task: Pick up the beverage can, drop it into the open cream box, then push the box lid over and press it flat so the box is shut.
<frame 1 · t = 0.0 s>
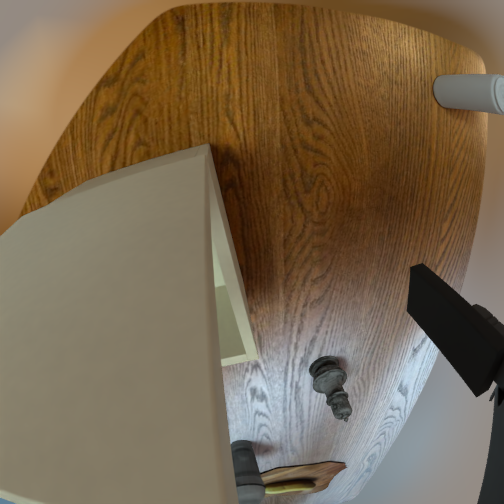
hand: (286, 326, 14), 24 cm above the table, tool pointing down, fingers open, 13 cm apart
beverage cup: (241, 444, 57), on the table
cream box: (166, 233, 36), on the table
cutting board: (285, 482, 70), on the table
beverage can: (442, 91, 32), on the table
chess piece: (323, 366, 49), on the table
box lid: (40, 263, 11), point 24 cm above the table, hinge at 85.0°
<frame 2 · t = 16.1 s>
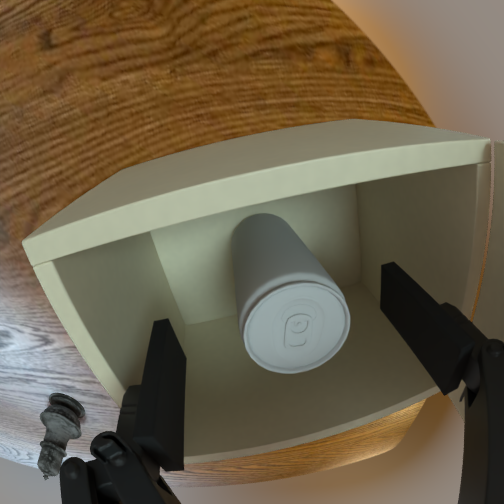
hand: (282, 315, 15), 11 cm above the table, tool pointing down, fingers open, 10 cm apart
cream box: (259, 231, 24), on the table
beverage can: (262, 241, 24), point 1 cm above the table, touching cream box
chess piece: (67, 404, 31), on the table
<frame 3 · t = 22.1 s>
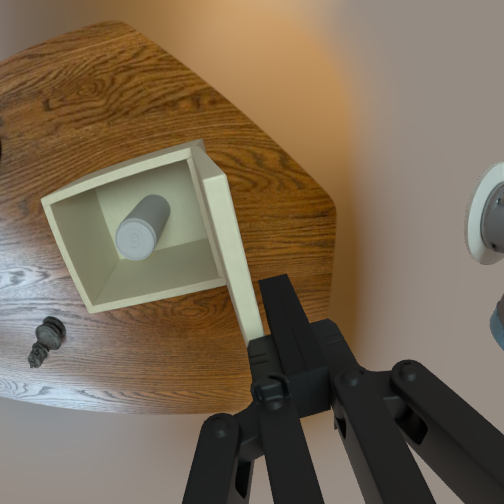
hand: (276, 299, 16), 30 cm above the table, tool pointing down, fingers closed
cream box: (155, 204, 43), on the table
beverage can: (155, 209, 42), point 1 cm above the table, touching cream box
chess piece: (54, 326, 50), on the table
box lid: (226, 261, 21), point 24 cm above the table, hinge at 96.7°, touching gripper
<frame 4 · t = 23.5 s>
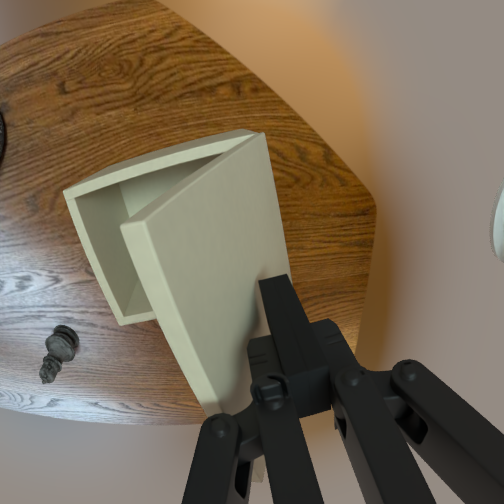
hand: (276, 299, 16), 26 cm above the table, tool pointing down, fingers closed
cream box: (187, 200, 39), on the table
chess piece: (66, 336, 46), on the table
box lid: (258, 278, 18), point 24 cm above the table, hinge at 72.3°, touching gripper
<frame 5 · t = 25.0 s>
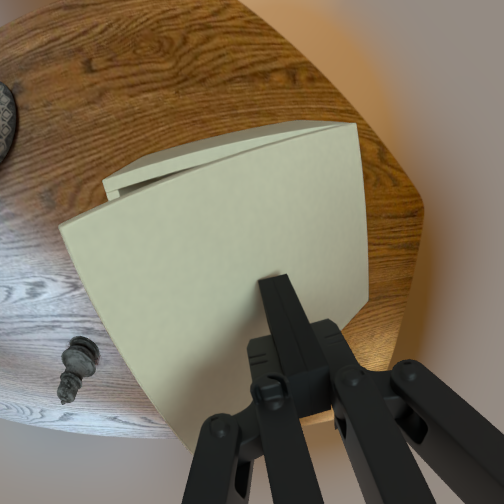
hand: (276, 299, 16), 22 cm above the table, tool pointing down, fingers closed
cream box: (234, 197, 36), on the table
chess piece: (84, 348, 42), on the table
box lid: (281, 281, 17), point 20 cm above the table, hinge at 35.9°, touching gripper
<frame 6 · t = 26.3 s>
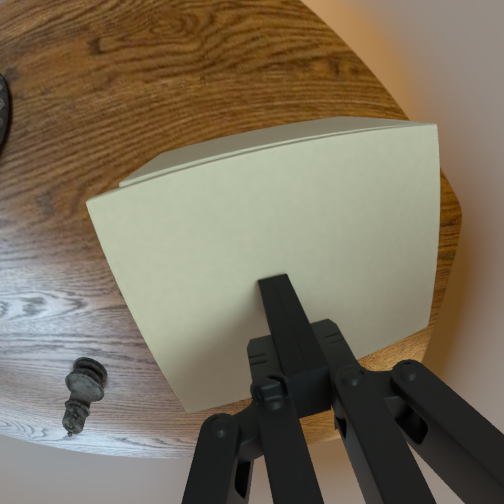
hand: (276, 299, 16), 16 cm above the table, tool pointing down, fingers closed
cream box: (268, 203, 31), on the table
chess piece: (90, 369, 37), on the table
box lid: (308, 282, 17), point 15 cm above the table, hinge at 5.6°, touching gripper
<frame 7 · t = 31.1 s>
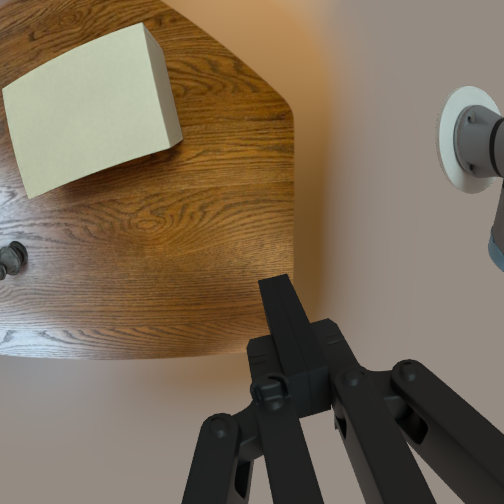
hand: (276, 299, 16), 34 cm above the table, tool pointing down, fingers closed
cream box: (116, 111, 40), on the table
chess piece: (18, 253, 47), on the table
box lid: (75, 111, 27), point 15 cm above the table, hinge at 1.0°
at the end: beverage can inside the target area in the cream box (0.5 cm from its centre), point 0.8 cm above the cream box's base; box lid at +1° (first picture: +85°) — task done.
